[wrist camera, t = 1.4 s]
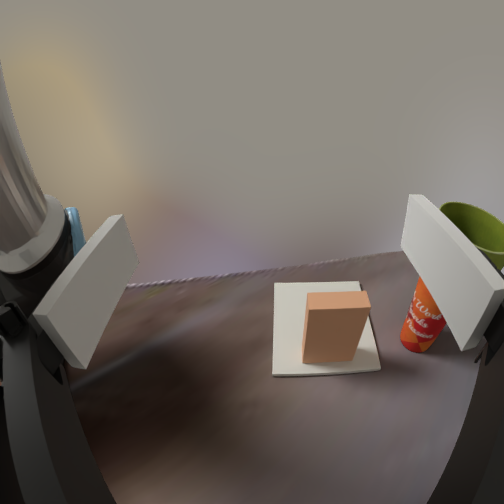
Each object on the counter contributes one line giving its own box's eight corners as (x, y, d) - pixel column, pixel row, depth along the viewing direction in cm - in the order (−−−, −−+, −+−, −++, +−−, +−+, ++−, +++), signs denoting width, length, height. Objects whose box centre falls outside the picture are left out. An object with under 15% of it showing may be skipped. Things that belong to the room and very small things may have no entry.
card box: (302, 363, 36) (308, 309, 30) (301, 347, 38) (307, 292, 32) (352, 360, 36) (370, 307, 29) (349, 345, 38) (365, 290, 31)
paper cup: (385, 328, 40) (411, 256, 32) (420, 314, 41) (449, 246, 33) (409, 366, 34) (447, 297, 25) (444, 348, 35) (484, 281, 26)
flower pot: (486, 295, 42) (517, 227, 32) (469, 343, 34) (513, 267, 25) (429, 263, 51) (450, 194, 42) (401, 302, 44) (427, 221, 34)
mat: (272, 376, 36) (272, 374, 35) (274, 285, 50) (274, 283, 50) (379, 370, 34) (381, 368, 34) (357, 283, 49) (358, 281, 48)
